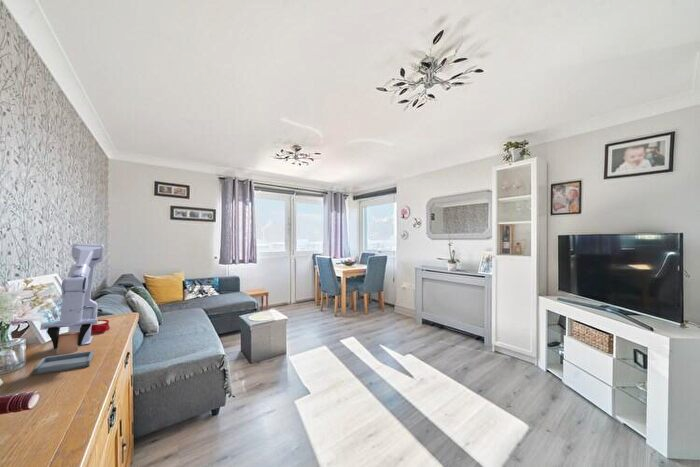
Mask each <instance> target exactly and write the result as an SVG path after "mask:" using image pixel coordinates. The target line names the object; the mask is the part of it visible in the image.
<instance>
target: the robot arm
mask: <svg viewBox="0 0 700 467" xmlns="http://www.w3.org/2000/svg"><path fill="white" fill-rule="evenodd" d="M104 252H105V245H104V244H103V243H101V244H100V243H81V242H79V243H78V242H74V243H73V244H72V247H71V256H72V259H73V262H75V264H73V265H72V266H71V267H70V269H69V271H68V274H67V276H66V278H63V279H62V281H61V286H60V290H61V295H60V297H61V298H62V299H61V309H60V316H59V320H56V321H49V322H42V323H41V324H40V330H41V331H43V330H47V331H46V334H47V335H48V336H49V337H50V340H51V342H52V346H53V350H55V349H56V350H57V342H58V335H59V334H60V330H61V328H68V331H67V332H72V331H78V332H80V337H79V342H78V346H80V347H81V346H85V345H90V344H91V342H92V340H93V338H94V336H92V333H91V327H92V325H97V322H98V320H99V318H98V310H99V308H98V306H99V304H98V302H97V301H95V300H93V299H92V296H91V295H92V291H93V290H92V289H93V281H94V275H95V268H96V265H97V264H98V263H101V262H103V260H104V254H105V253H104Z"/></svg>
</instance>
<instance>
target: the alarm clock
mask: <svg viewBox="0 0 700 467" xmlns="http://www.w3.org/2000/svg"><path fill="white" fill-rule="evenodd" d="M109 323H110V320H109V319H108V320H107V319H98V322H97V325H92V327H91V334H102V333H105V332H106V331H108V330H110V328H111V327H110V325H109Z"/></svg>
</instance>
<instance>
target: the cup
mask: <svg viewBox="0 0 700 467" xmlns="http://www.w3.org/2000/svg"><path fill="white" fill-rule="evenodd" d="M79 337H80V332H78V331H72V332H68V331H65V332H61V333H59V335H58V342H57V348H56V352H55V354H56V355H65V354H72V353H77V352H78V351H79V346H78V342H79Z"/></svg>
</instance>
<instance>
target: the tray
mask: <svg viewBox="0 0 700 467" xmlns="http://www.w3.org/2000/svg"><path fill="white" fill-rule="evenodd" d="M94 354H95V350H90V351H89V350H88V351H82V352H74V353H70V354H64V355H58V354H56V355H51V356H44V357H42V359H41V360H40V361H39V362H38V364H37V365H36V366H35V367H34V369H33V374H32V375H33V376H38V375H44V374H51V373H55V372H60V371H61V372H62V371H68V370H73V369H74V370H76V369H80V368H87V367H90V365H91V362H92V360H93V357H94Z"/></svg>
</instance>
